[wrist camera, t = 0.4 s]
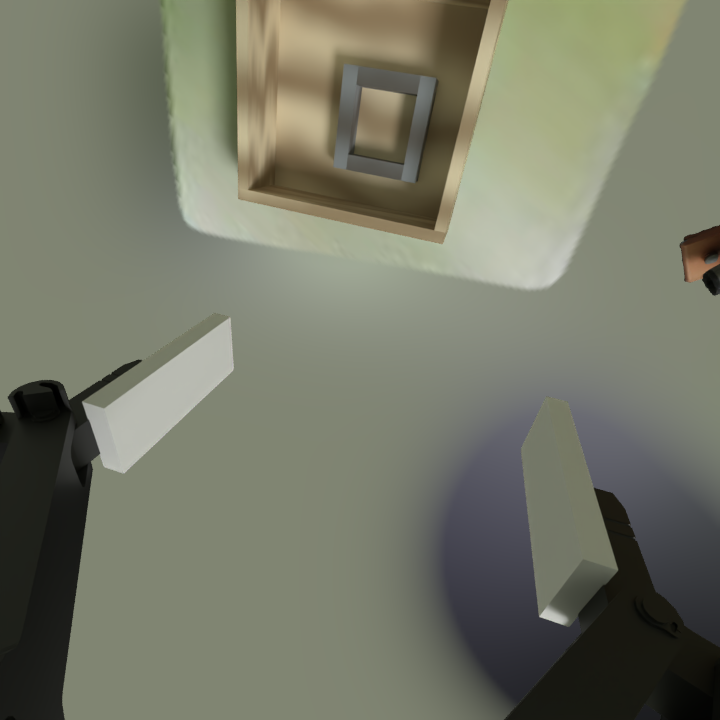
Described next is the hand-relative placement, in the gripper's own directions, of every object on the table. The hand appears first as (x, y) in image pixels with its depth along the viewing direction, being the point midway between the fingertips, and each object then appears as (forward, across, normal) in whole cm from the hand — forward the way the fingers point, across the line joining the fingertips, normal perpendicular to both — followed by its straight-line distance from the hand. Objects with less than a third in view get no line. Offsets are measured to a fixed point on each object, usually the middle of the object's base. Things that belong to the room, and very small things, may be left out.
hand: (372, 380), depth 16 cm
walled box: (+29, -9, +9) cm, 31 cm away
